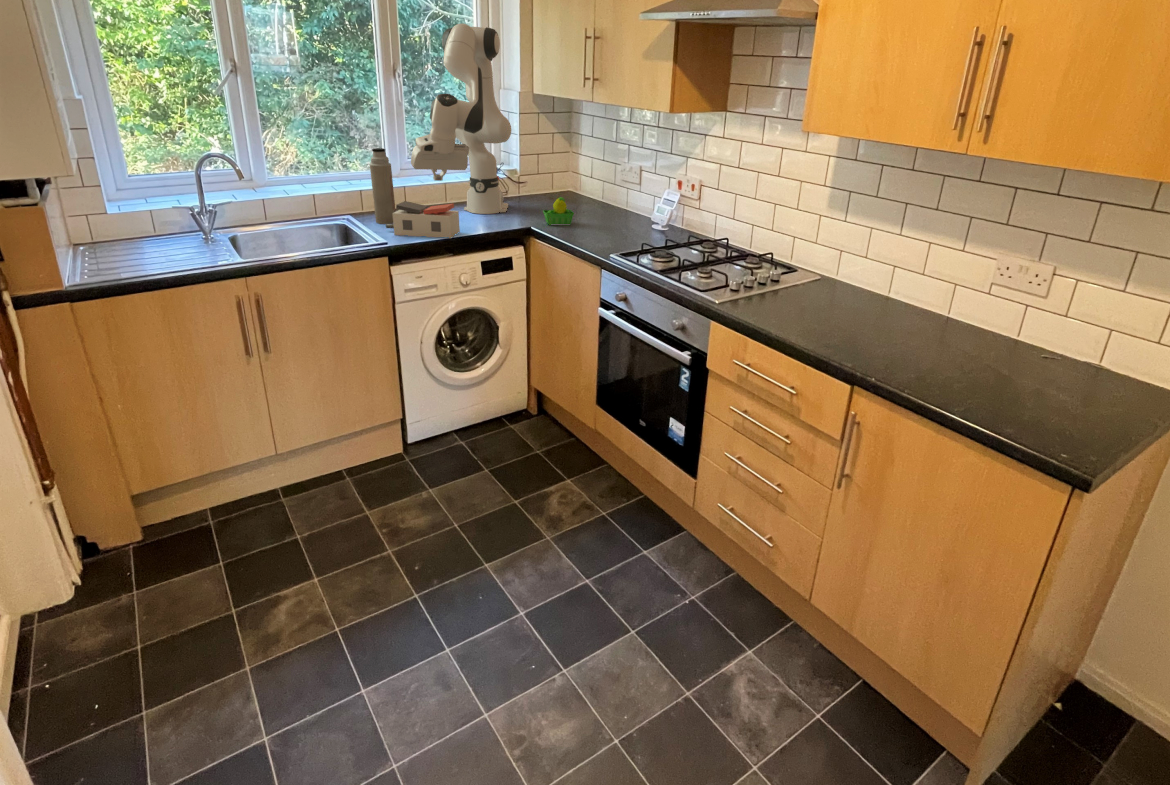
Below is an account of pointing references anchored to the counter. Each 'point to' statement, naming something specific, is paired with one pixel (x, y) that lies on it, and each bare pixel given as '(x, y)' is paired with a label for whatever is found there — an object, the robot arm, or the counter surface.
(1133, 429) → the counter surface
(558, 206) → the fruit basket
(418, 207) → the black rocker
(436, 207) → the red rocker
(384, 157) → the thermos bottle
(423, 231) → the rocker switch box
